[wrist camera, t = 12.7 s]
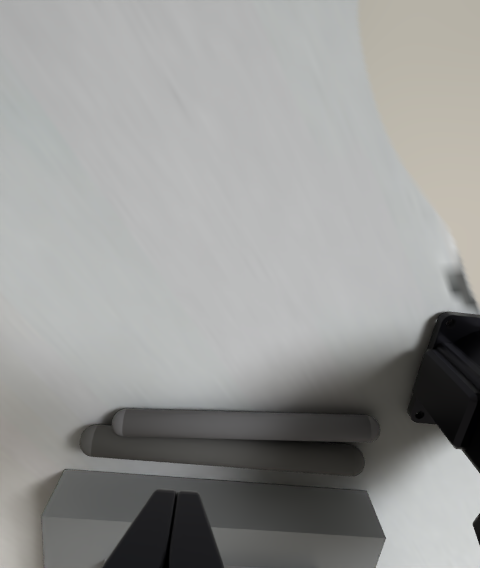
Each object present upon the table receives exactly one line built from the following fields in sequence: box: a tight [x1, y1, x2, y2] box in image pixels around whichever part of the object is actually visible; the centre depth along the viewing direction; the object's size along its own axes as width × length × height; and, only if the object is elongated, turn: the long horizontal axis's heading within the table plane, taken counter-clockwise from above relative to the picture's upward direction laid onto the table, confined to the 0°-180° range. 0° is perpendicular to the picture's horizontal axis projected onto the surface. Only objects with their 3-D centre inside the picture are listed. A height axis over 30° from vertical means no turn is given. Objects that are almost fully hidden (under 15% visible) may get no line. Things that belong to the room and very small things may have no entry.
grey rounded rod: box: [80, 425, 365, 476], centre depth 21 cm, size 16×2×2 cm, turn 83°
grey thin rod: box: [112, 409, 380, 442], centre depth 21 cm, size 14×1×1 cm, turn 87°
